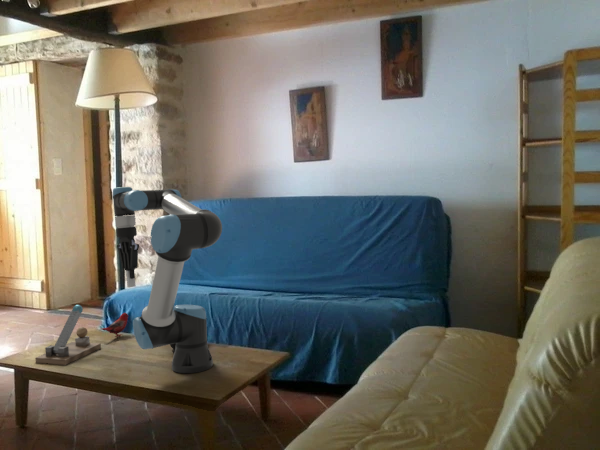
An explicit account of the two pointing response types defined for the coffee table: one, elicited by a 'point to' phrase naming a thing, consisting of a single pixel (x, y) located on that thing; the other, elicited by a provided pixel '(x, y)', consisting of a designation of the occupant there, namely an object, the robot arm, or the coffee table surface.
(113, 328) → the decorative bird figurine
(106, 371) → the coffee table surface
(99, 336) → the coffee table surface
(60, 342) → the lever
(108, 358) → the coffee table surface
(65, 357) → the nutcracker base
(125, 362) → the coffee table surface
